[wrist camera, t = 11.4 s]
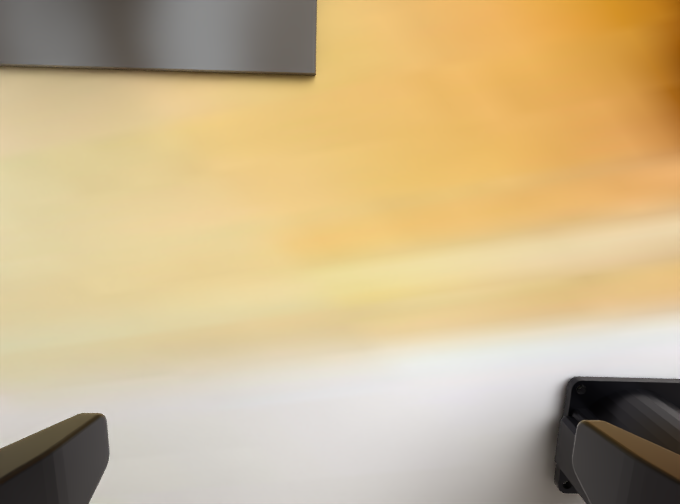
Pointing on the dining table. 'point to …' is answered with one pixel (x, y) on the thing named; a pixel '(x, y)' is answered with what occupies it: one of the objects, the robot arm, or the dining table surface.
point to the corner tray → (161, 35)
